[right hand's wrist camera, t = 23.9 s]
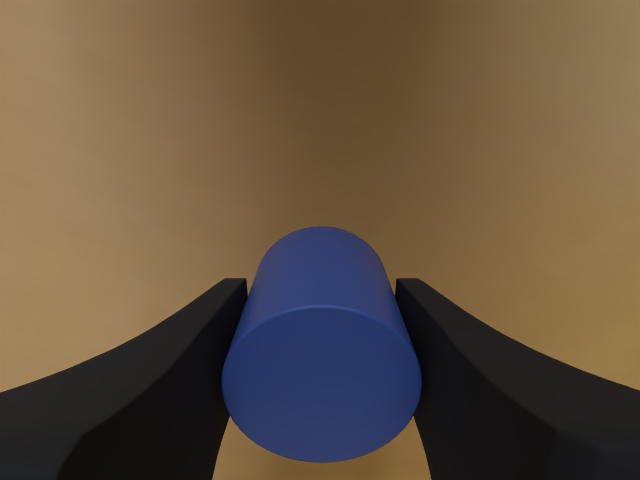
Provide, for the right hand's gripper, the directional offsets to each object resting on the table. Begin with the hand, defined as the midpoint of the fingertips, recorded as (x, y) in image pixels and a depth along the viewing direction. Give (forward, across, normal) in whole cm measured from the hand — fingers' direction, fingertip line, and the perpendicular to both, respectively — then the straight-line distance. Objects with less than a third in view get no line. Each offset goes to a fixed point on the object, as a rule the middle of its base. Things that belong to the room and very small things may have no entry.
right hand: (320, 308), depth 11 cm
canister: (+2, 0, 0) cm, 2 cm away
